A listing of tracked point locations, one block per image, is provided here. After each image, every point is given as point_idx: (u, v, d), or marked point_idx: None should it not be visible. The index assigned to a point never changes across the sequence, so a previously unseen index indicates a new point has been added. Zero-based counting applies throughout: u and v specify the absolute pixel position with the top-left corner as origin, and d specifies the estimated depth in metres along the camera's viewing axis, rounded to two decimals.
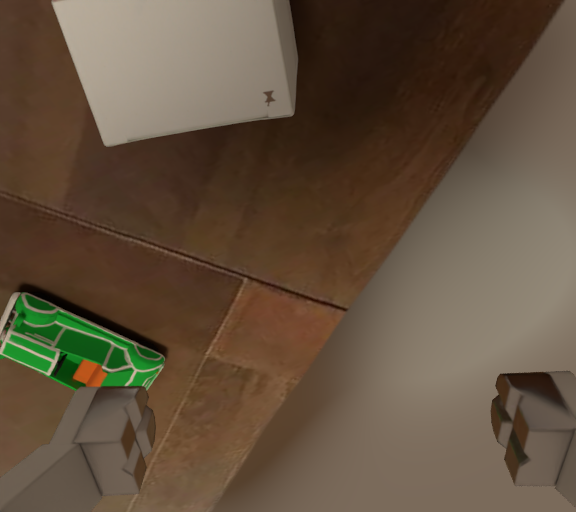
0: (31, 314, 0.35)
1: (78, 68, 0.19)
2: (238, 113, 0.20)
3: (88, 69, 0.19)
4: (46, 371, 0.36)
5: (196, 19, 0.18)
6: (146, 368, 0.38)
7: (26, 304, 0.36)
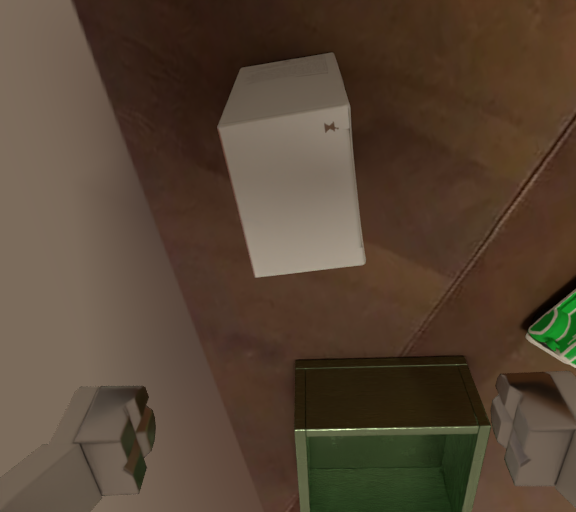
0: (550, 332, 0.36)
1: (301, 271, 0.25)
2: (343, 155, 0.21)
3: (302, 264, 0.24)
4: None
5: (264, 183, 0.22)
6: None
7: (539, 332, 0.37)
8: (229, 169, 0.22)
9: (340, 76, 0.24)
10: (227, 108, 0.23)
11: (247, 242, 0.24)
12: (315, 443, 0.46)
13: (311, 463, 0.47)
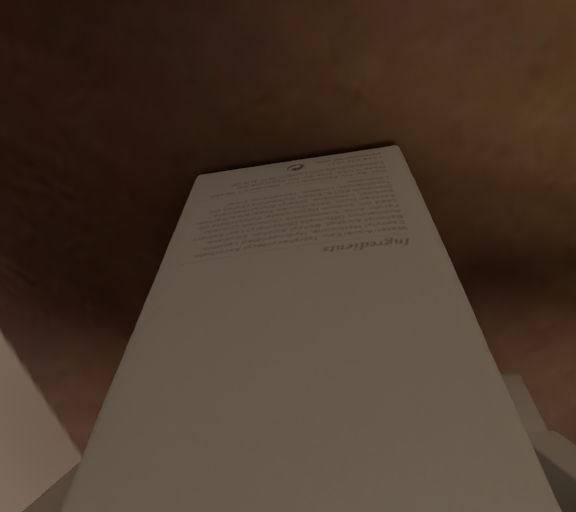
0: None
1: None
2: None
3: None
4: None
5: None
6: None
7: None
8: None
9: (451, 265, 0.09)
10: (109, 411, 0.07)
11: None
12: None
13: None
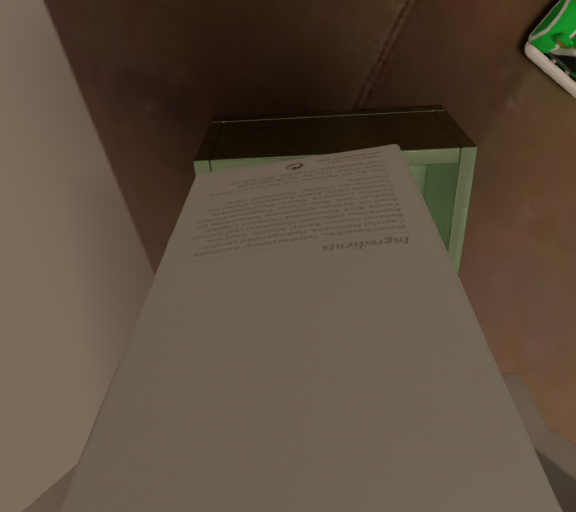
0: (561, 24, 0.25)
1: None
2: None
3: None
4: None
5: None
6: None
7: (544, 31, 0.26)
8: None
9: (450, 264, 0.09)
10: (108, 410, 0.07)
11: None
12: None
13: None
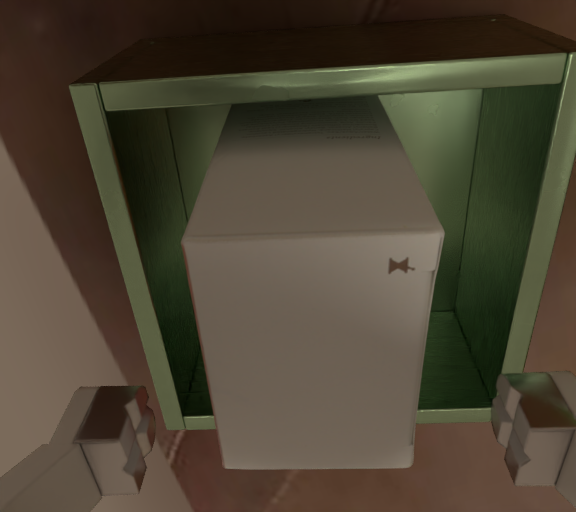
0: None
1: (303, 467, 0.14)
2: (413, 312, 0.12)
3: (307, 460, 0.14)
4: None
5: (261, 342, 0.12)
6: None
7: None
8: (197, 313, 0.12)
9: (403, 149, 0.14)
10: (205, 192, 0.12)
11: (217, 422, 0.14)
12: None
13: None
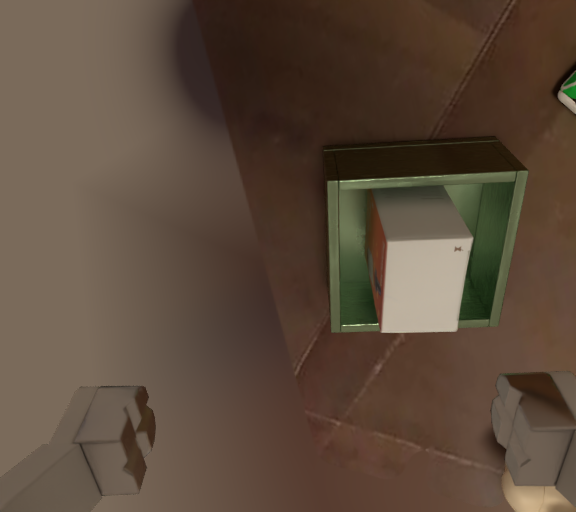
0: None
1: (413, 331, 0.36)
2: (461, 265, 0.33)
3: (416, 327, 0.36)
4: None
5: (407, 276, 0.34)
6: None
7: (573, 84, 0.36)
8: (386, 266, 0.33)
9: None
10: (385, 223, 0.34)
11: (383, 310, 0.35)
12: (342, 249, 0.45)
13: None
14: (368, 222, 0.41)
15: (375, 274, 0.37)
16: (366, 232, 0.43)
